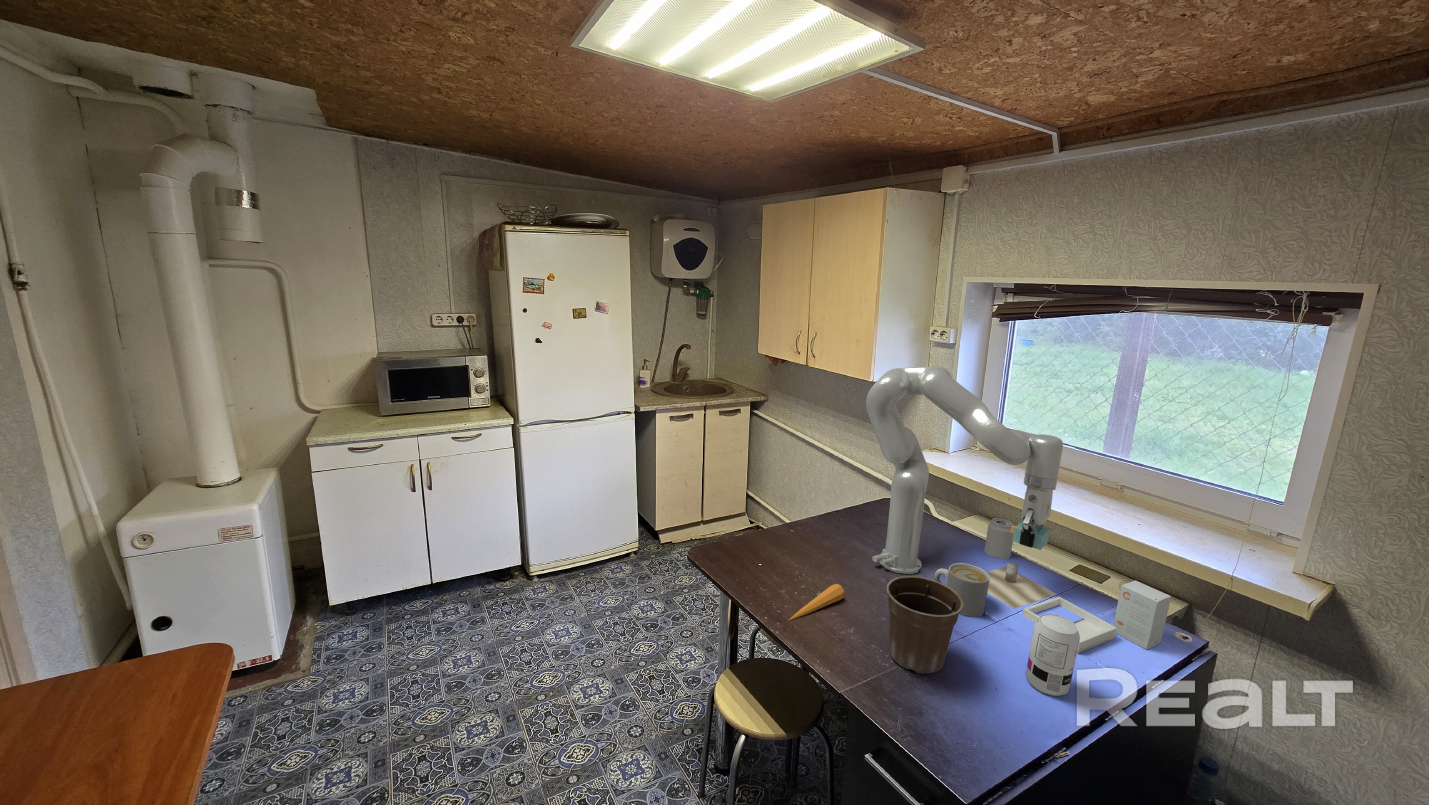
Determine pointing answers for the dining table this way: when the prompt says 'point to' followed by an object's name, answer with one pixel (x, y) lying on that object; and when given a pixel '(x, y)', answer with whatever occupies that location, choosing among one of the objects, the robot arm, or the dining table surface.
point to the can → (999, 538)
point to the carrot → (822, 600)
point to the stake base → (1015, 587)
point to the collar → (1039, 532)
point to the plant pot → (921, 622)
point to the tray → (1077, 623)
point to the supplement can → (1052, 654)
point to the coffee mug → (967, 586)
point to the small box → (1141, 614)
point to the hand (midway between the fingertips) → (1030, 540)
